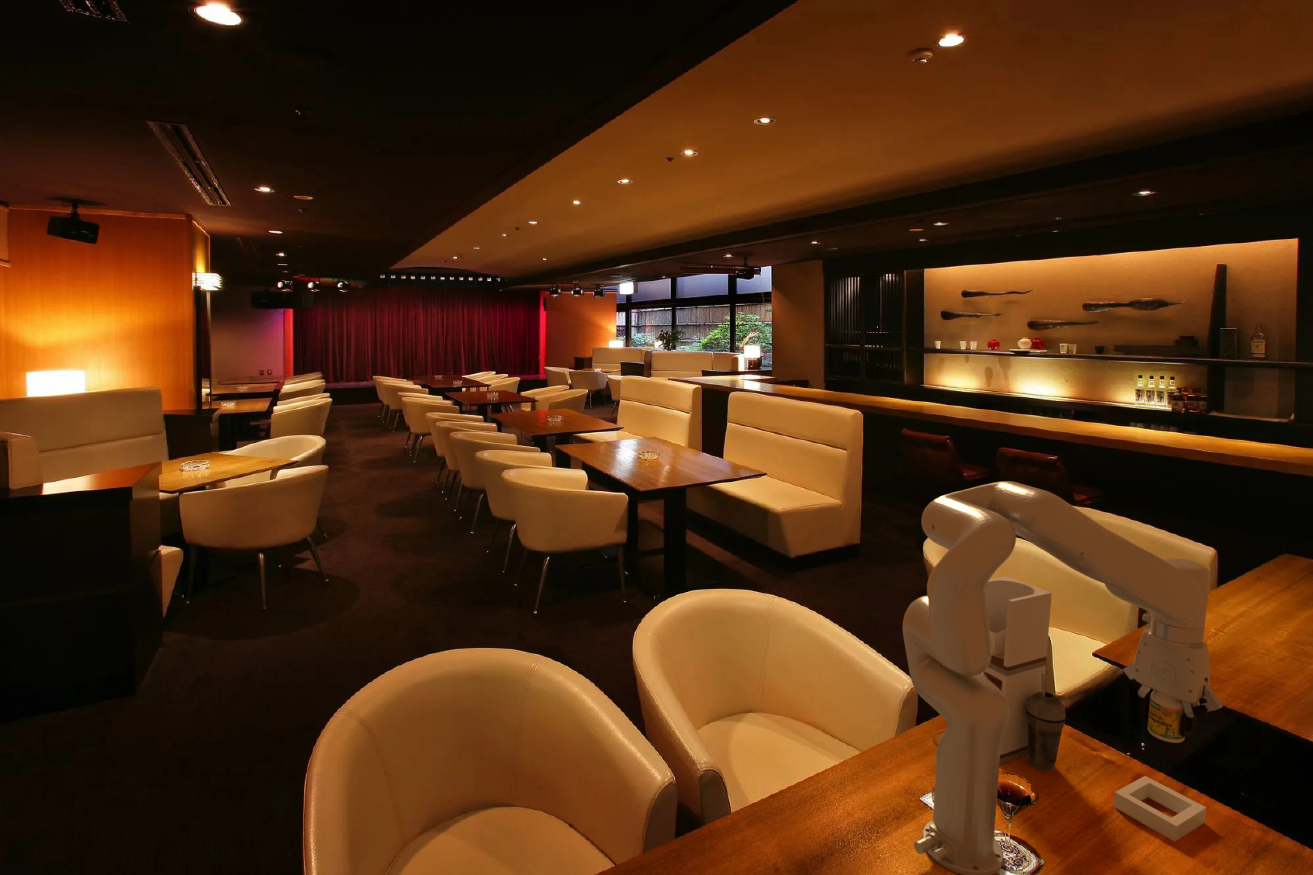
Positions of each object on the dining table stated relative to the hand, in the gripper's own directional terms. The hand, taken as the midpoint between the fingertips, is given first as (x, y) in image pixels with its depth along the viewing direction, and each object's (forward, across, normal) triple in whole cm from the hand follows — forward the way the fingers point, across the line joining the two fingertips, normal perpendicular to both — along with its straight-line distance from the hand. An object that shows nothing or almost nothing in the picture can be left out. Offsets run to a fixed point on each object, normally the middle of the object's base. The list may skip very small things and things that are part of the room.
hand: (1166, 724), depth 120 cm
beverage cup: (+18, -19, -5) cm, 26 cm away
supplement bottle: (+2, 0, 0) cm, 2 cm away
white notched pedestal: (+18, -28, -6) cm, 34 cm away
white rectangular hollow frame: (+18, 0, 0) cm, 18 cm away
